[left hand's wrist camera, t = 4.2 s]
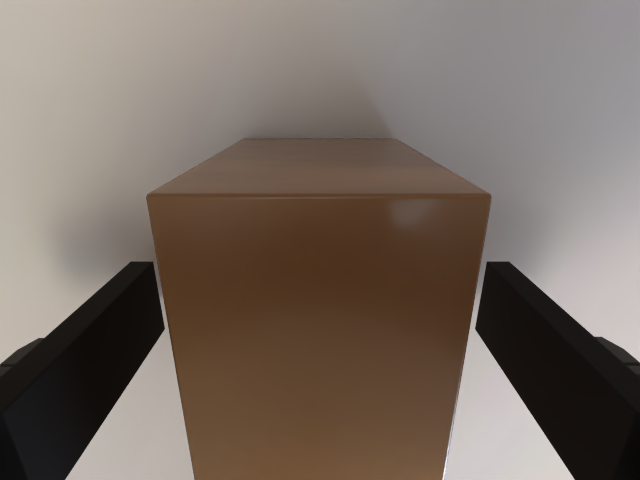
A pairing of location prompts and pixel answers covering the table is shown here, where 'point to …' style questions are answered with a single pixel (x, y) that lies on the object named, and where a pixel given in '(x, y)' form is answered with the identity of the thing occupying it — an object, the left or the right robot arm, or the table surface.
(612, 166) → the table surface
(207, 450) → the bar
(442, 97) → the table surface
